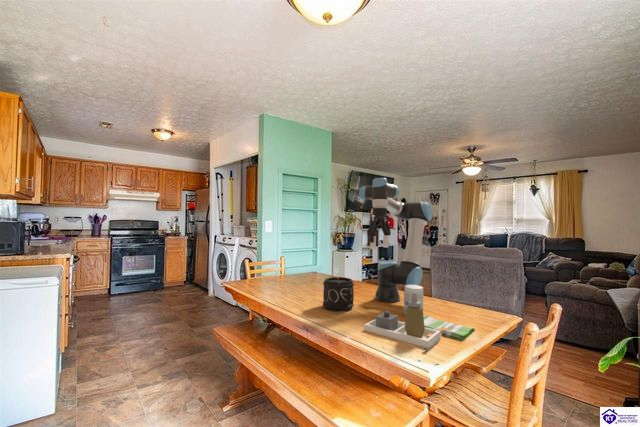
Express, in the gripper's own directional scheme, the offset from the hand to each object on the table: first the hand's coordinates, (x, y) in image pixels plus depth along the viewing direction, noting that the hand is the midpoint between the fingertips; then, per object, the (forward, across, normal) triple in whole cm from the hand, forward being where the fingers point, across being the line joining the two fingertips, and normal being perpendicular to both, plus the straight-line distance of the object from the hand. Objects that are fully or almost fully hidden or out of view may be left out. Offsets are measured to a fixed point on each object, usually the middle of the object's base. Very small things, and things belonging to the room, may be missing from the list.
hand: (379, 248), depth 156 cm
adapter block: (+34, +19, +14) cm, 41 cm away
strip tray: (+35, +19, +21) cm, 45 cm away
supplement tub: (+35, -13, +13) cm, 39 cm away
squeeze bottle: (+34, +19, +27) cm, 47 cm away
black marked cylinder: (+35, +3, -24) cm, 43 cm away
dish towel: (+36, -2, +31) cm, 47 cm away
